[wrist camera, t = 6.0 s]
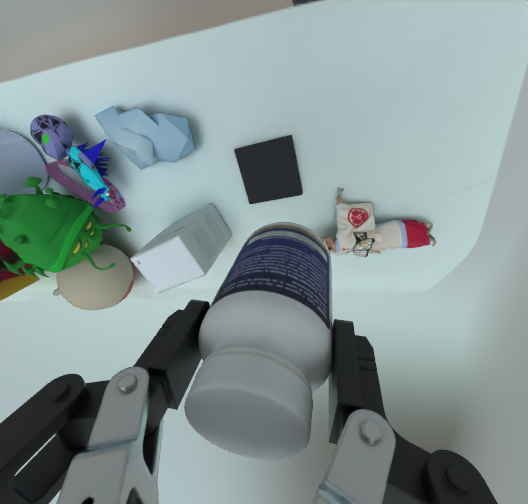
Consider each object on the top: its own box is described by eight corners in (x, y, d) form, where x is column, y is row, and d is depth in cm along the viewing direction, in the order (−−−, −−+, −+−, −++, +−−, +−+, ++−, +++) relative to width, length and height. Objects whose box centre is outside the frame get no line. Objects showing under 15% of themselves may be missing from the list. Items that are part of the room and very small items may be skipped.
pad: (236, 148, 34) (234, 149, 33) (291, 134, 32) (290, 135, 31) (251, 202, 37) (249, 204, 36) (302, 192, 35) (302, 194, 34)
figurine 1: (95, 215, 36) (29, 143, 35) (132, 194, 39) (72, 126, 38) (90, 194, 31) (11, 107, 30) (134, 170, 34) (64, 91, 32)
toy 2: (26, 318, 35) (80, 328, 45) (115, 285, 36) (150, 301, 45) (25, 252, 39) (74, 274, 48) (105, 224, 40) (139, 250, 49)
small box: (192, 252, 43) (156, 295, 34) (171, 222, 41) (127, 259, 32) (233, 234, 40) (206, 276, 31) (213, 201, 38) (177, 235, 29)
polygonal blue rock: (134, 159, 39) (104, 173, 36) (111, 103, 35) (75, 113, 31) (209, 161, 34) (184, 178, 31) (193, 97, 30) (162, 107, 26)
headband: (129, 191, 40) (120, 196, 38) (123, 211, 42) (114, 217, 40) (59, 147, 38) (45, 151, 36) (56, 170, 40) (43, 175, 38)
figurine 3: (430, 179, 32) (300, 189, 34) (442, 249, 30) (304, 255, 32) (410, 200, 38) (300, 207, 39) (418, 259, 36) (303, 264, 38)
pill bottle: (231, 227, 16) (130, 369, 8) (322, 211, 15) (316, 366, 6) (256, 299, 19) (199, 465, 10) (337, 291, 17) (347, 481, 9)
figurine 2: (105, 292, 35) (28, 261, 26) (21, 276, 39) (-72, 245, 30) (142, 209, 40) (88, 158, 31) (64, 203, 44) (-4, 156, 35)
